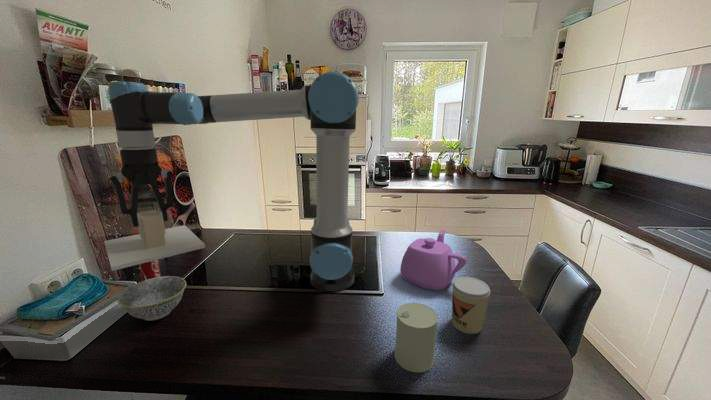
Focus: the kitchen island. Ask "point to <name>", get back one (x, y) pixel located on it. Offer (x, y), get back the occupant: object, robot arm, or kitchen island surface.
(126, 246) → the lid
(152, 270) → the soda can
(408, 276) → the teapot
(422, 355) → the can
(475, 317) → the cream canister
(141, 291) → the bowl
